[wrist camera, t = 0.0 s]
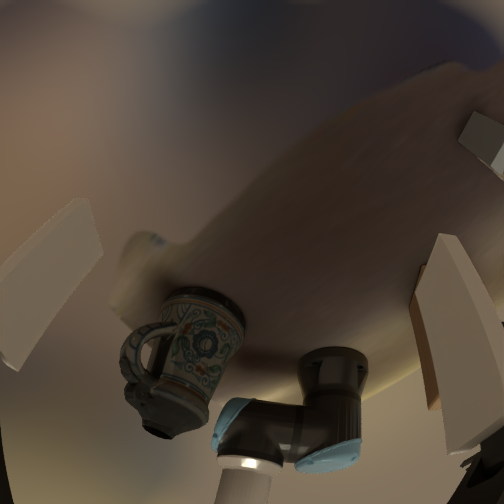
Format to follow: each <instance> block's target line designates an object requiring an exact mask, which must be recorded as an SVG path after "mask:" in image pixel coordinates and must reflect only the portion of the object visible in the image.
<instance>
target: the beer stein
mask: <svg viewBox="0 0 504 504" xmlns="http://www.w3.org/2000/svg"><path fill="white" fill-rule="evenodd" d="M244 327H245V325H244V320H243V315H242V312H241V311H240V310H239V309H238V308H237V307H236V306H235V304H234V303H233V302H232V301H231V300H229V299H228V298H226V297H224V296H223V295H221V294H219V293H218V292H214V291H211V290H208V289H205V288H201V287H197V288H183V289H180V290H178V291H176V292H174V293H173V294H172V295H171V296H170V297H169V299H167V300H166V301H165V302H164V304H163V305H162V307H161V309H160V311H159V315H158V322H157V323H151V324H147V325H144V326H142V327H140V328H138V329H136V330H135V331H133V332H132V333H131V334H130V335H129V336H128V337H127V338H126V340H125V341H124V343H123V345H122V348H121V351H120V361H119V364H120V368H121V373H122V375H123V377H124V378H125V379H126V380H127V381H128V383H127V385H126V386H125V388H124V395H125V399H126V401H127V402H128V403H129V404H130V405H131V406H133V407H134V408H135V409H137V410H138V412H139V414H140V415H141V417H142V426H143V427H144V429H145V430H146V431H148V432H149V433H151V434H153V435H155V436H157V437H160V438H163V439H173V438H174V437H175V436H176V435H179V434H181V433H183V432H187V431H191V430H195V429H198V428H200V427H202V426H204V425H205V424H206V423H207V422H208V420H209V410H208V404H209V402H210V400H211V398H212V396H213V393H214V391H215V389H216V387H217V385H218V383H219V381H220V379H221V377H222V375H223V373H224V371H225V369H226V367H227V365H228V363H229V361H230V360H231V358H232V357H233V355H234V354H235V353H236V352H237V351H238V350H239V349H240V347H241V346H242V344H243V341H244ZM153 338H155V341H154V344H153V348H152V351H151V355H150V358H149V362H148V365H147V369H144V367H143V365H142V363H141V359H140V353H141V349H142V347H143V345H144V344H145V343H146V342H148V341H149V340H150V339H153Z"/></svg>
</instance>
